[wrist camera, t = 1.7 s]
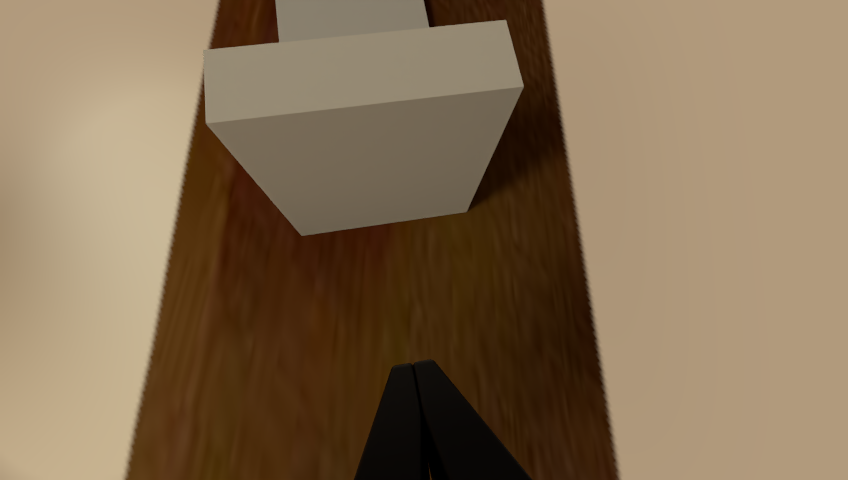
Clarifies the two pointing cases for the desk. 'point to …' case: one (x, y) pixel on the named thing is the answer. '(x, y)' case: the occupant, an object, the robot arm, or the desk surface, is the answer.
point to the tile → (366, 120)
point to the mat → (346, 17)
